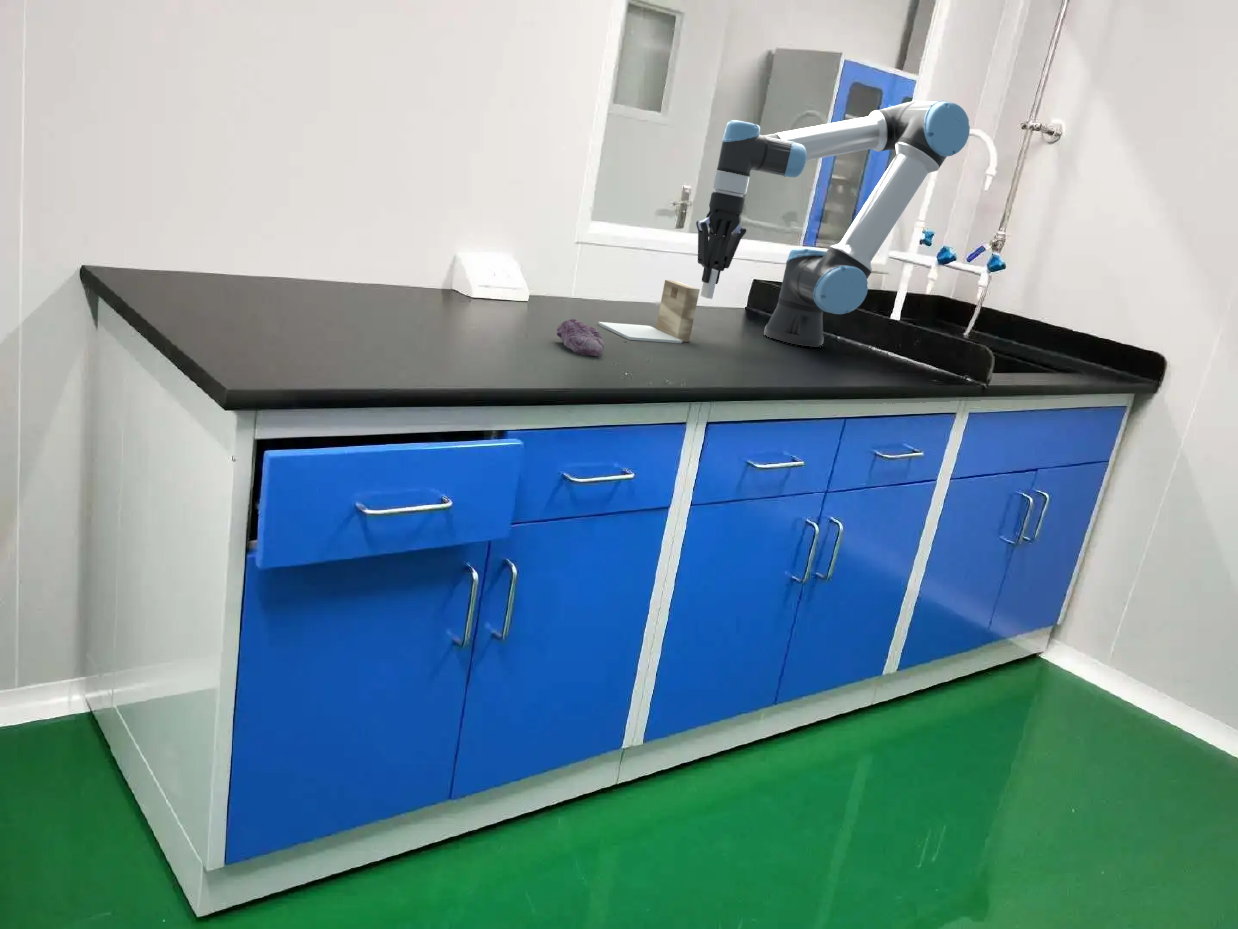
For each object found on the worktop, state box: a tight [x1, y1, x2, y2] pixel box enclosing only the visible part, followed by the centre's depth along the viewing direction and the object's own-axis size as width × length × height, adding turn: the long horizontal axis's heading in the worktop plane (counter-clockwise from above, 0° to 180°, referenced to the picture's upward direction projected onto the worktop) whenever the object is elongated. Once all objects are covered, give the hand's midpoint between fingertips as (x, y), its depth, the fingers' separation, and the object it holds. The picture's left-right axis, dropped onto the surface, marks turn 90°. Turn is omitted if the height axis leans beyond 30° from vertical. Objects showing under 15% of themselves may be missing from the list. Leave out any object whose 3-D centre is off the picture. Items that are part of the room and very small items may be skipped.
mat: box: [597, 321, 683, 344], centre depth 227 cm, size 14×14×1 cm
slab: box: [655, 279, 701, 343], centre depth 230 cm, size 4×9×12 cm, turn 31°
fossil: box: [556, 318, 605, 358], centre depth 198 cm, size 8×14×5 cm, turn 27°
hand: (706, 297), depth 233 cm, fingers closed
